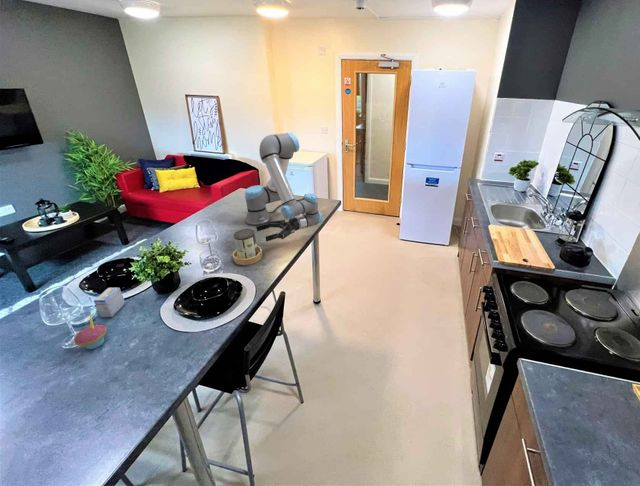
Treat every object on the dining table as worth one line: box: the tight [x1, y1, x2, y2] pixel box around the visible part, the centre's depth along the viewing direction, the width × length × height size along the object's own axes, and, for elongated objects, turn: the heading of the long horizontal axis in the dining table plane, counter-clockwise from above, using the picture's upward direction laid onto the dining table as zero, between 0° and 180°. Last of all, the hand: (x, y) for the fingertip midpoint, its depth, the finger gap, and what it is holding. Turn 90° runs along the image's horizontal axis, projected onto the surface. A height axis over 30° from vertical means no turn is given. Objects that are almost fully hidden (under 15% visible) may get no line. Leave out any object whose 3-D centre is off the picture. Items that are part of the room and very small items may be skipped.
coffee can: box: [232, 228, 258, 259], centre depth 152 cm, size 10×10×14 cm
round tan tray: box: [231, 245, 263, 266], centre depth 155 cm, size 15×15×4 cm
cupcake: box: [73, 314, 108, 350], centre depth 101 cm, size 9×8×12 cm
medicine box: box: [93, 287, 126, 318], centre depth 116 cm, size 8×4×9 cm, turn 5°
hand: (261, 233), depth 155 cm, fingers open, 13 cm apart
